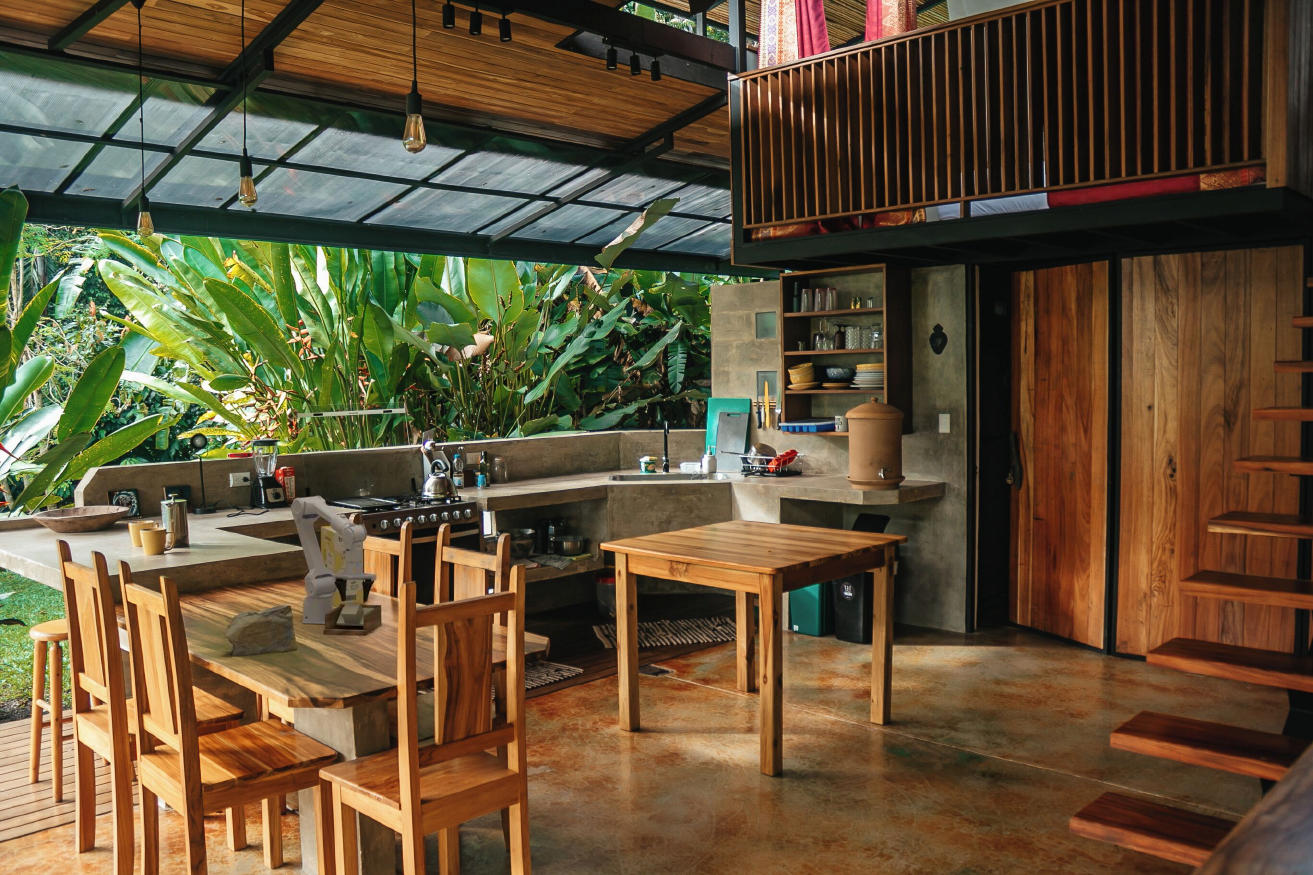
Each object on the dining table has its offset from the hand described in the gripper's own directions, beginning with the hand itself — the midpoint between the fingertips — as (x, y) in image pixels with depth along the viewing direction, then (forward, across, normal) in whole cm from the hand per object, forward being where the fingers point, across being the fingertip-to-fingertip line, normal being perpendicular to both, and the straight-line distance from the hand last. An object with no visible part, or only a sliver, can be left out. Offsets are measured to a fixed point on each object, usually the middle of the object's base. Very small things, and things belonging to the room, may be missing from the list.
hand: (354, 601), depth 328 cm
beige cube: (+4, 0, -2) cm, 4 cm away
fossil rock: (+10, -18, -30) cm, 36 cm away
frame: (+9, 0, -2) cm, 10 cm away
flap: (+6, 0, +1) cm, 6 cm away
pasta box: (+10, -21, +40) cm, 46 cm away
